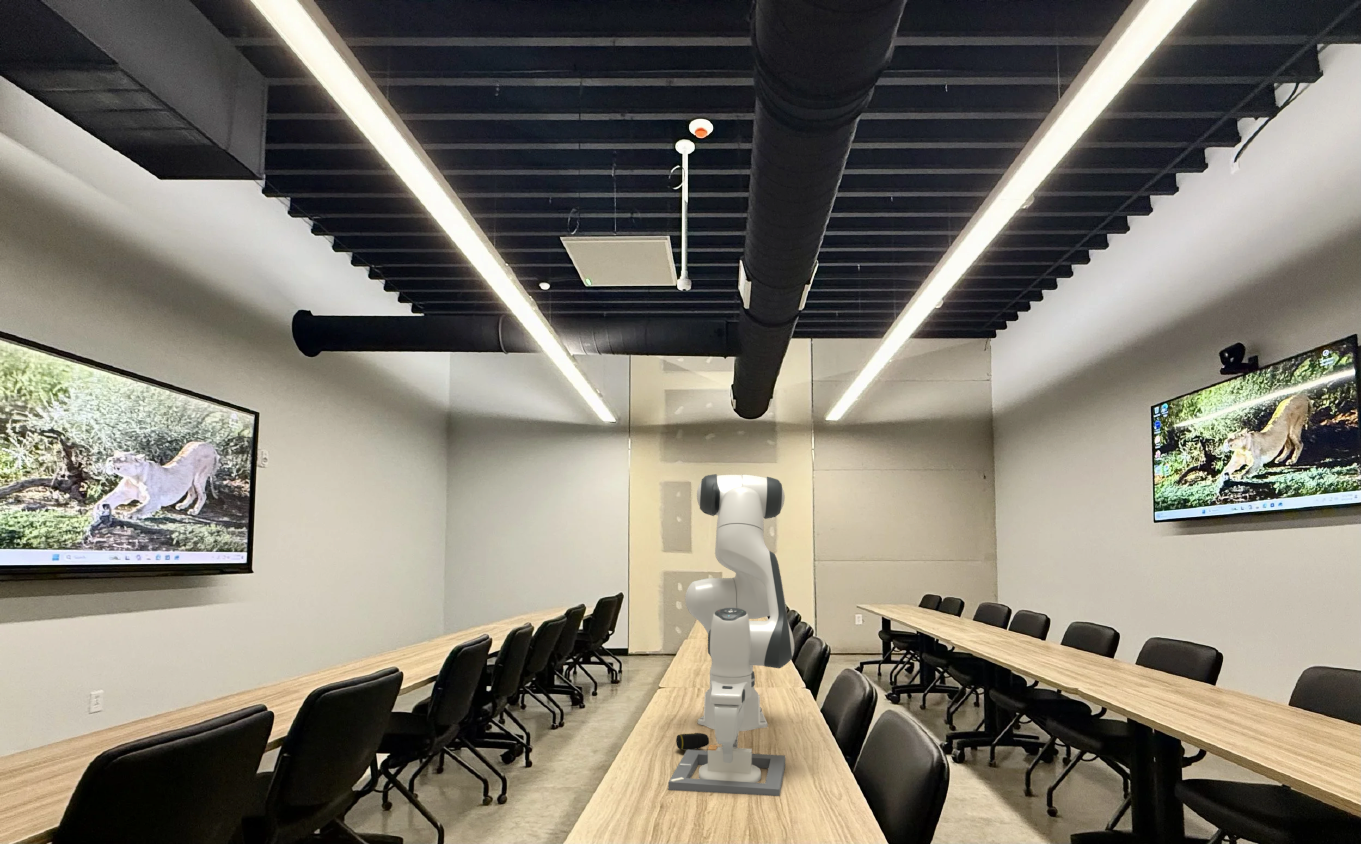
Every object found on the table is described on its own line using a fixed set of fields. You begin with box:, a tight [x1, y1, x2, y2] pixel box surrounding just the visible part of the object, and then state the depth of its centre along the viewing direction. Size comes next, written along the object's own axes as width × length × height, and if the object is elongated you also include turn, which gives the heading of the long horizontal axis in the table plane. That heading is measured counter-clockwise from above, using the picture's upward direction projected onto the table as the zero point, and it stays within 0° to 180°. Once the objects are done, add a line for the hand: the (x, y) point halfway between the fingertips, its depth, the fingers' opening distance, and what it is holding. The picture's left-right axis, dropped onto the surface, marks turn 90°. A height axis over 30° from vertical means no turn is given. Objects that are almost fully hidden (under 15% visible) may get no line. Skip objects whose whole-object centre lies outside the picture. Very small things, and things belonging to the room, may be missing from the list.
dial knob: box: [698, 744, 762, 783], centre depth 173 cm, size 13×13×6 cm
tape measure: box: [675, 732, 710, 752], centre depth 193 cm, size 7×7×4 cm
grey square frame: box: [667, 749, 786, 797], centre depth 173 cm, size 22×22×3 cm
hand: (730, 755), depth 173 cm, fingers open, 8 cm apart
